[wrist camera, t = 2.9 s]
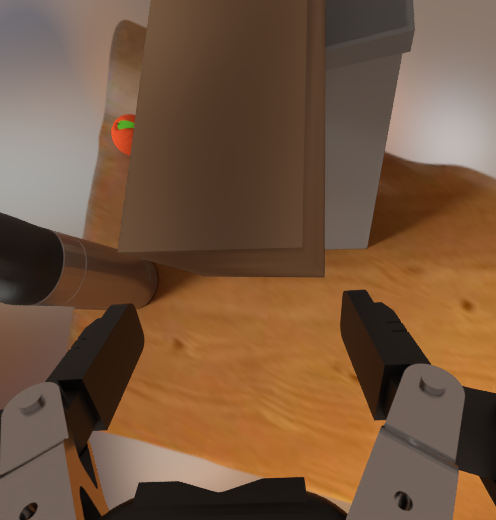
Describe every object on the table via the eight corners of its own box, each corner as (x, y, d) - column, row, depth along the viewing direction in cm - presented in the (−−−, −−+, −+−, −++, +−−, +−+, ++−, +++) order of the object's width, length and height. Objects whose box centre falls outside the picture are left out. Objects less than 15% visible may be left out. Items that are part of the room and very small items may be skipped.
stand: (297, 251, 42) (161, 92, 12) (299, 189, 44) (182, -82, 14) (368, 249, 39) (414, 29, 9) (367, 183, 40) (402, -186, 11)
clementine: (168, 128, 55) (143, 102, 48) (161, 163, 54) (134, 141, 47) (135, 130, 57) (106, 106, 51) (127, 163, 56) (97, 143, 50)
